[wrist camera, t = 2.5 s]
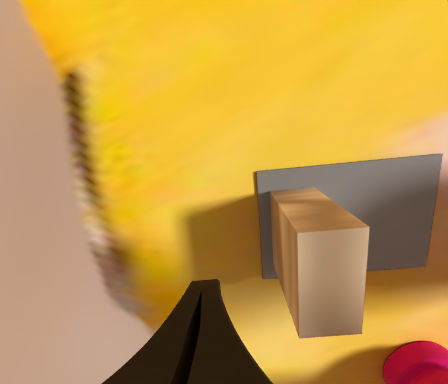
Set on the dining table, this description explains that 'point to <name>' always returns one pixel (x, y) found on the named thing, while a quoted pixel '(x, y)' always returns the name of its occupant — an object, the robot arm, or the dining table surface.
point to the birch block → (319, 261)
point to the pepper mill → (417, 364)
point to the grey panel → (366, 204)
